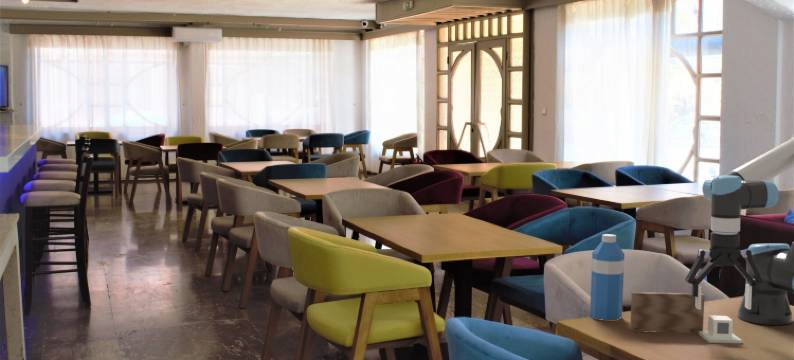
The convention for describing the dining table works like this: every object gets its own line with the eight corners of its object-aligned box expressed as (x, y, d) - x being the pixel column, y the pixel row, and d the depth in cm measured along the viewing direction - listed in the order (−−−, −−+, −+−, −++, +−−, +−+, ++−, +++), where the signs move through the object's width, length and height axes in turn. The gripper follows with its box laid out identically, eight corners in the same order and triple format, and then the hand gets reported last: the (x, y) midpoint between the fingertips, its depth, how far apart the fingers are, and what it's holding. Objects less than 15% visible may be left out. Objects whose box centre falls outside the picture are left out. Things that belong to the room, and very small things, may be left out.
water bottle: (622, 322, 258) (626, 238, 256) (590, 319, 260) (593, 236, 258) (621, 314, 267) (624, 233, 265) (589, 312, 269) (592, 232, 267)
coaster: (730, 334, 246) (730, 331, 246) (741, 343, 237) (742, 340, 237) (698, 333, 247) (698, 330, 247) (708, 342, 238) (708, 339, 238)
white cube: (726, 333, 244) (726, 315, 244) (731, 338, 239) (732, 320, 239) (707, 332, 244) (708, 315, 244) (713, 337, 239) (714, 320, 239)
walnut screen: (699, 330, 250) (701, 292, 249) (704, 334, 246) (706, 295, 245) (629, 328, 251) (630, 291, 250) (632, 332, 247) (634, 294, 246)
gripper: (766, 229, 243) (763, 304, 245) (675, 230, 243) (673, 304, 246) (776, 234, 235) (774, 311, 237) (683, 234, 236) (681, 311, 238)
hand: (722, 308), depth 241 cm, fingers open, 13 cm apart
